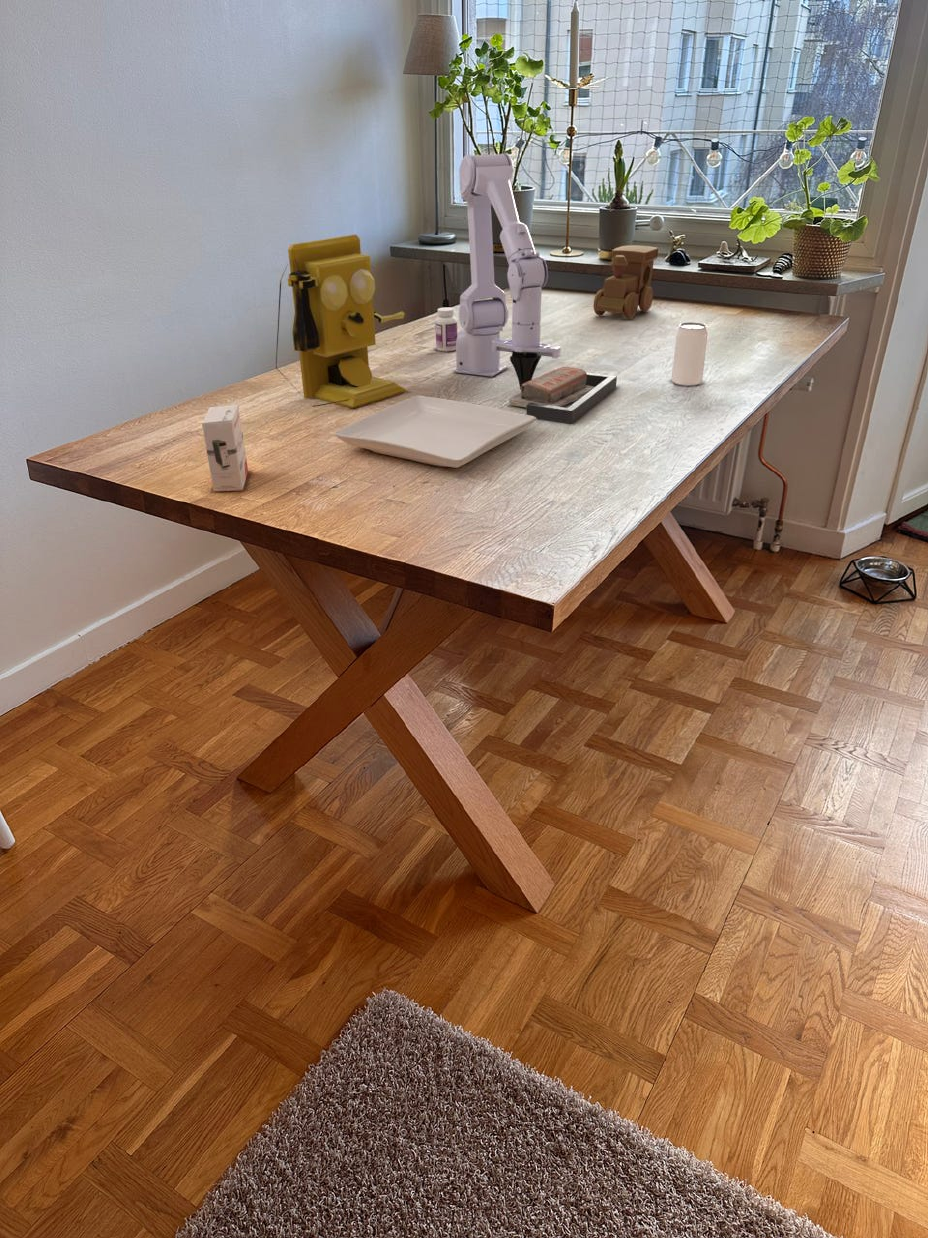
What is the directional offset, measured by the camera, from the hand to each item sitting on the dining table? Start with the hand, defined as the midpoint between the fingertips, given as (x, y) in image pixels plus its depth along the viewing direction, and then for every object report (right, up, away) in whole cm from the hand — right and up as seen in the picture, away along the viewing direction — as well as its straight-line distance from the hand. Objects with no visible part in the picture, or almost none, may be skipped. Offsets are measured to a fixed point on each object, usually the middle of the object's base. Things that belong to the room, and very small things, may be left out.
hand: (525, 388), depth 187 cm
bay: (+9, -3, -3) cm, 10 cm away
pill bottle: (-17, +18, +34) cm, 43 cm away
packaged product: (+6, -3, -2) cm, 6 cm away
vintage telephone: (-36, -1, +3) cm, 36 cm away
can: (+35, +3, +7) cm, 36 cm away
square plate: (-18, -16, -23) cm, 33 cm away
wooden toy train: (+32, +38, +65) cm, 82 cm away
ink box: (-51, -25, -38) cm, 69 cm away
